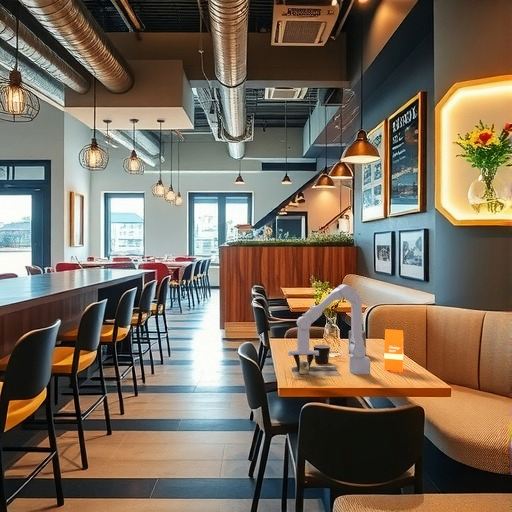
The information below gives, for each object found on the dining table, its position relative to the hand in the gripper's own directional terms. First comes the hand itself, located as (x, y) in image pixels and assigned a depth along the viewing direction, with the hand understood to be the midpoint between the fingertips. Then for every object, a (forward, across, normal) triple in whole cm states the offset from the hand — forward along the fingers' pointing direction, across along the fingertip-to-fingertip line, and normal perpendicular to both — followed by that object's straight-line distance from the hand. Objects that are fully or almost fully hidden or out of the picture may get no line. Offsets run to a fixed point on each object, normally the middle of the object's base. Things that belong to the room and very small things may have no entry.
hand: (303, 370), depth 217 cm
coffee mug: (+3, -12, -18) cm, 22 cm away
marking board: (+3, -6, 0) cm, 7 cm away
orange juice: (+3, -48, -10) cm, 49 cm away
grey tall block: (+3, -39, -42) cm, 58 cm away
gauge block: (+1, 0, 0) cm, 1 cm away
